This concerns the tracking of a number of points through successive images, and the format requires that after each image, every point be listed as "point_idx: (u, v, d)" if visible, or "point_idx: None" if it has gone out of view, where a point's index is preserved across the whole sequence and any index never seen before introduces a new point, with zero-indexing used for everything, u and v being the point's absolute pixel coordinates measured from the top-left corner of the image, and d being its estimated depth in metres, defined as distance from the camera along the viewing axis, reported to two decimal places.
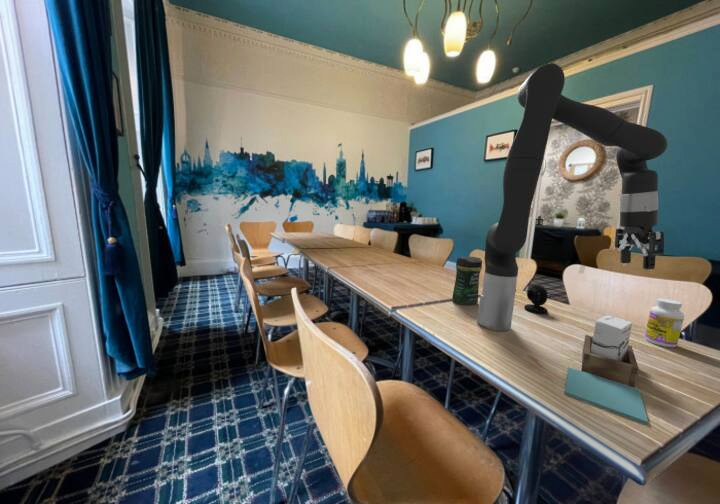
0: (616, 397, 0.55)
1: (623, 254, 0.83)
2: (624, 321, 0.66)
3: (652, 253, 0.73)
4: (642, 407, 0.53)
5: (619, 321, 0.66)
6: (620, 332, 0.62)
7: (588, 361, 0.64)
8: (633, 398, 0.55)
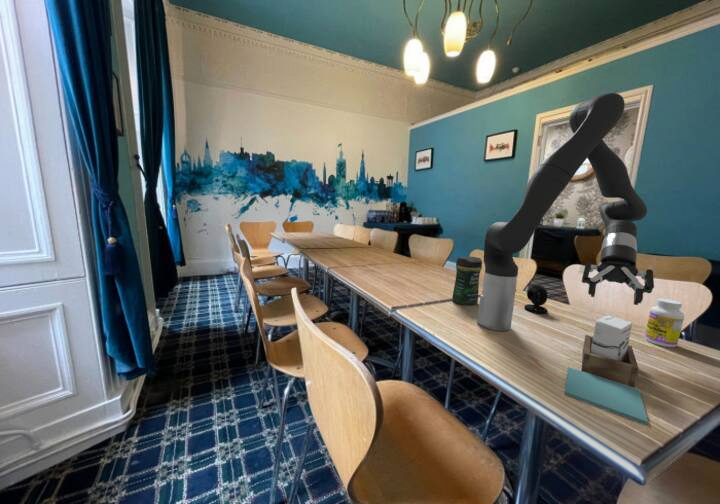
0: (616, 397, 0.55)
1: (595, 285, 0.76)
2: (624, 321, 0.66)
3: (652, 287, 0.70)
4: (642, 407, 0.53)
5: (619, 321, 0.66)
6: (620, 332, 0.62)
7: (588, 361, 0.64)
8: (633, 398, 0.55)
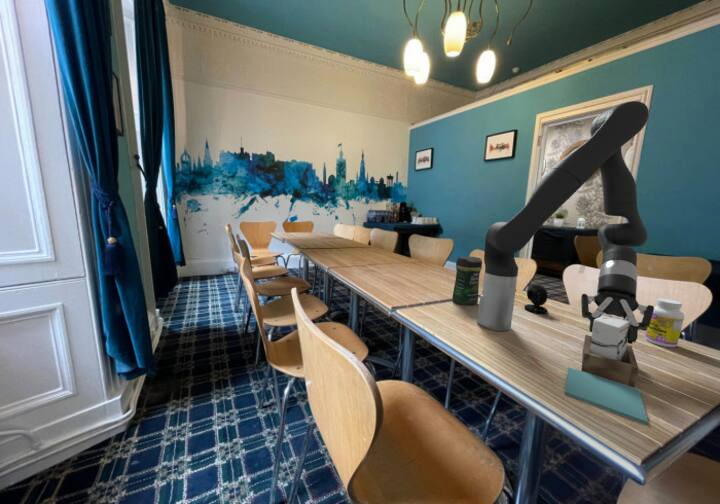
0: (616, 397, 0.55)
1: None
2: (622, 320, 0.67)
3: (647, 325, 0.65)
4: (642, 407, 0.53)
5: (617, 320, 0.66)
6: (618, 330, 0.62)
7: (588, 361, 0.64)
8: (633, 398, 0.55)
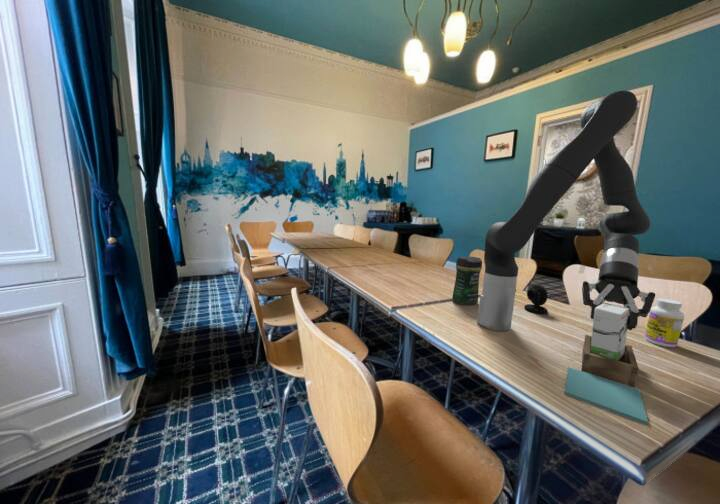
0: (616, 397, 0.55)
1: None
2: (621, 307, 0.67)
3: (648, 311, 0.64)
4: (642, 407, 0.53)
5: (617, 307, 0.66)
6: (619, 317, 0.62)
7: (588, 361, 0.64)
8: (633, 398, 0.55)
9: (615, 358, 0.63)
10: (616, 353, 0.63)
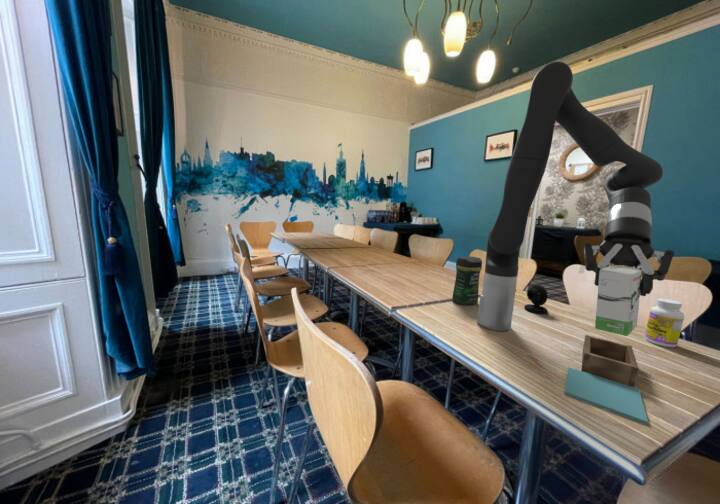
0: (616, 397, 0.55)
1: None
2: (632, 269, 0.55)
3: (665, 272, 0.52)
4: (642, 407, 0.53)
5: (627, 269, 0.54)
6: (631, 278, 0.50)
7: (588, 361, 0.64)
8: (633, 398, 0.55)
9: (626, 329, 0.51)
10: (627, 323, 0.51)
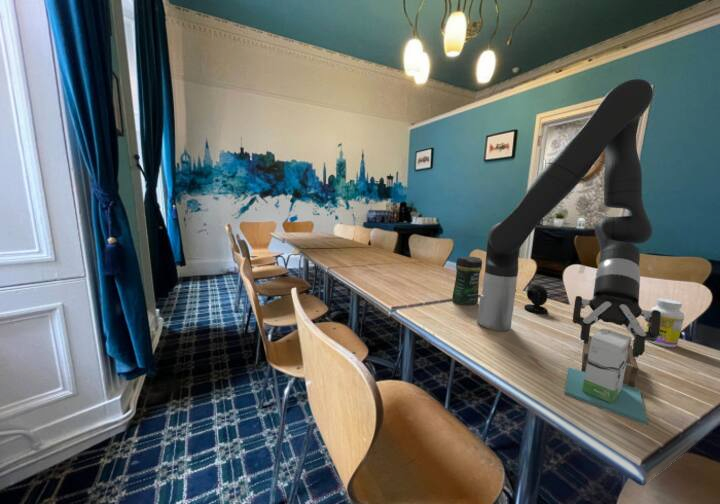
0: (616, 397, 0.55)
1: None
2: (622, 336, 0.57)
3: (657, 335, 0.54)
4: (642, 407, 0.53)
5: (617, 336, 0.56)
6: (620, 350, 0.52)
7: None
8: (633, 398, 0.55)
9: (612, 397, 0.53)
10: (613, 391, 0.53)
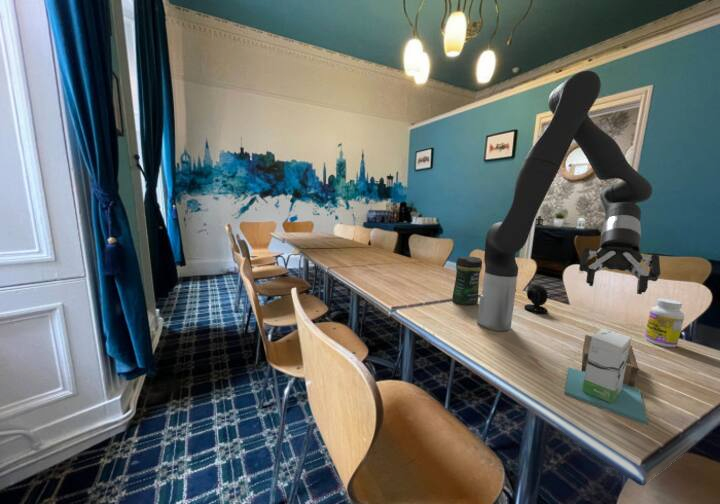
0: (616, 397, 0.55)
1: (594, 273, 0.68)
2: (622, 336, 0.57)
3: (658, 274, 0.62)
4: (642, 407, 0.53)
5: (617, 336, 0.56)
6: (620, 351, 0.52)
7: None
8: (633, 398, 0.55)
9: (612, 397, 0.53)
10: (613, 392, 0.53)
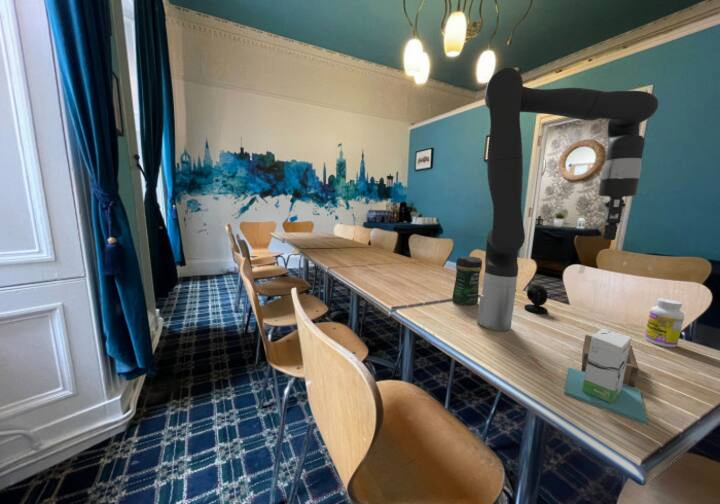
0: (616, 397, 0.55)
1: (605, 227, 0.79)
2: (622, 336, 0.57)
3: (607, 221, 0.71)
4: (642, 407, 0.53)
5: (617, 336, 0.56)
6: (620, 350, 0.52)
7: None
8: (633, 398, 0.55)
9: (612, 397, 0.53)
10: (613, 391, 0.53)
